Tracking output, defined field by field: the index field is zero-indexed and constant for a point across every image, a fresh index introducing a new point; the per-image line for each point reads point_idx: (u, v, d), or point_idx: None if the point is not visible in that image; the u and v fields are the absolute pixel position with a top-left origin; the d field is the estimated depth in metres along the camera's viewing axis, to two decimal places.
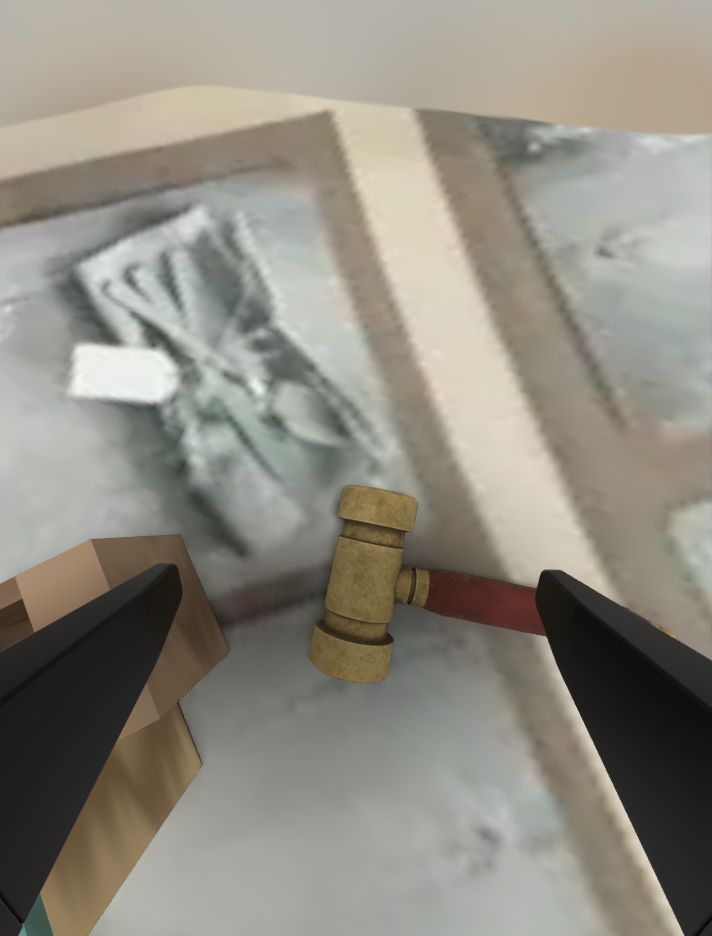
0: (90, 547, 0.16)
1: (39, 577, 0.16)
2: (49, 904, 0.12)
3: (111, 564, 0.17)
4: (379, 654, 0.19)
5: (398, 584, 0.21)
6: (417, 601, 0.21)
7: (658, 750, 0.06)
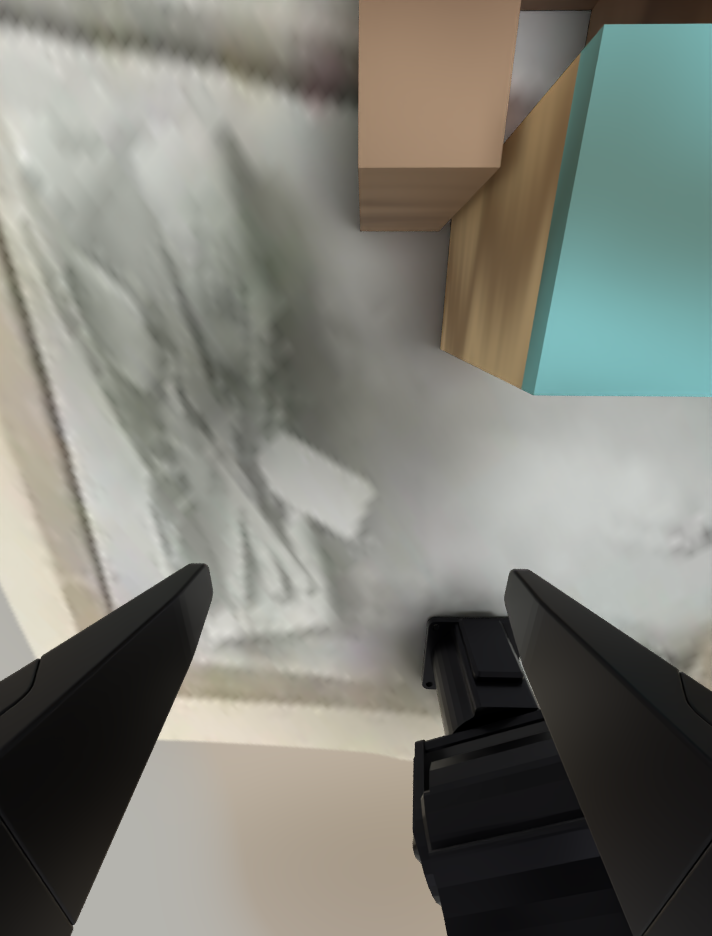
0: None
1: None
2: None
3: None
4: None
5: None
6: None
7: (609, 749, 0.06)
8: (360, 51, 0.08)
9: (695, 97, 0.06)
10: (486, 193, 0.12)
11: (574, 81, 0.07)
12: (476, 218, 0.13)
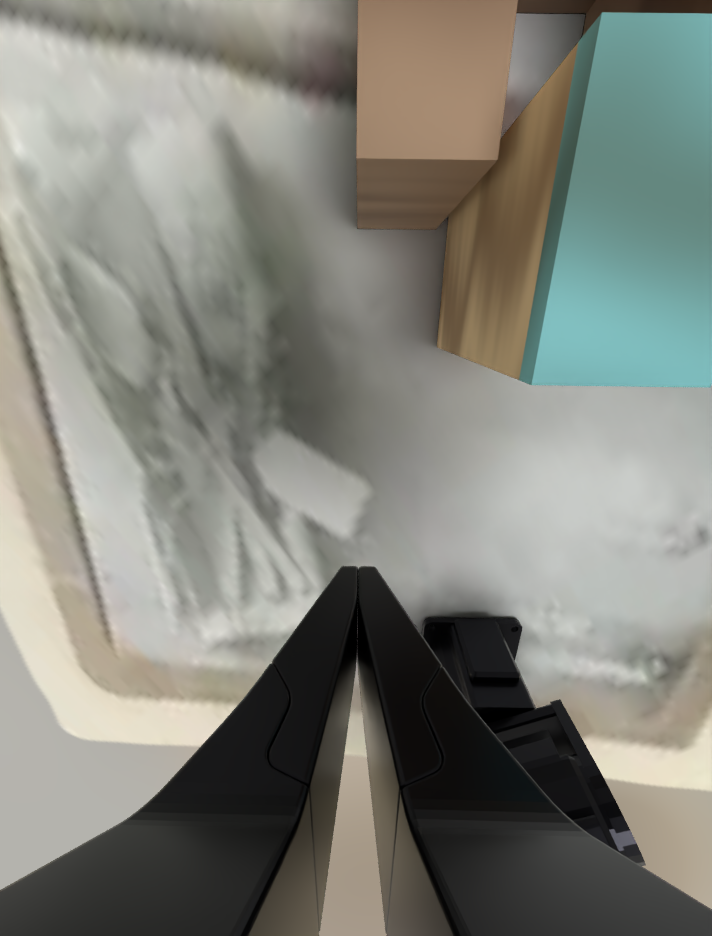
0: None
1: None
2: None
3: None
4: None
5: None
6: None
7: (374, 744, 0.06)
8: (359, 42, 0.08)
9: (691, 87, 0.06)
10: (483, 189, 0.12)
11: (572, 71, 0.07)
12: (473, 214, 0.13)
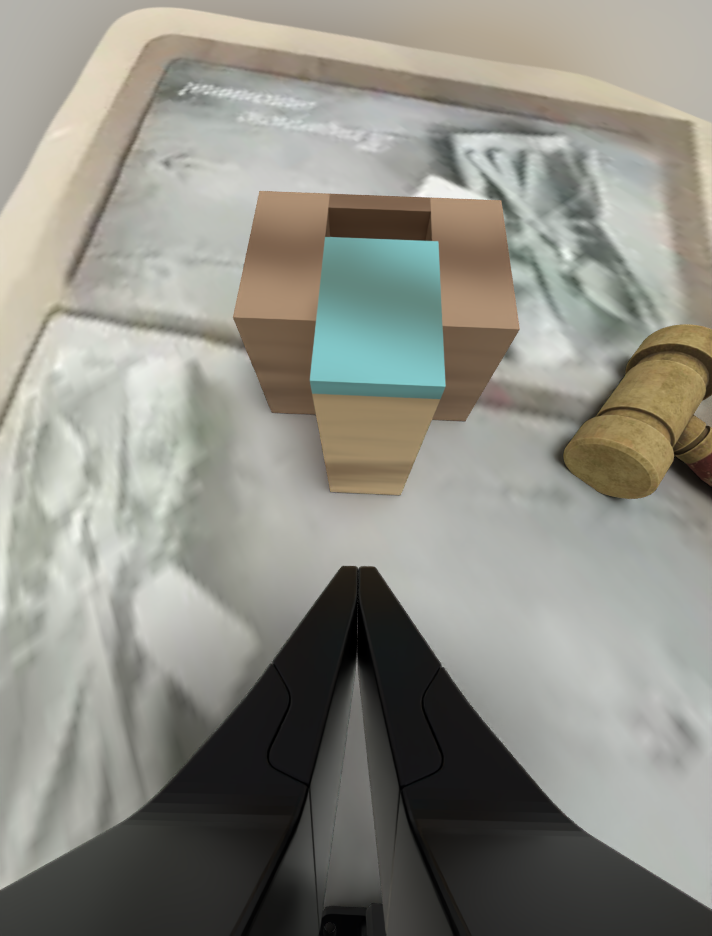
0: (498, 205, 0.18)
1: (449, 205, 0.18)
2: None
3: None
4: (669, 455, 0.18)
5: (693, 420, 0.20)
6: (704, 446, 0.20)
7: (374, 744, 0.06)
8: (242, 280, 0.16)
9: (374, 257, 0.13)
10: None
11: None
12: None
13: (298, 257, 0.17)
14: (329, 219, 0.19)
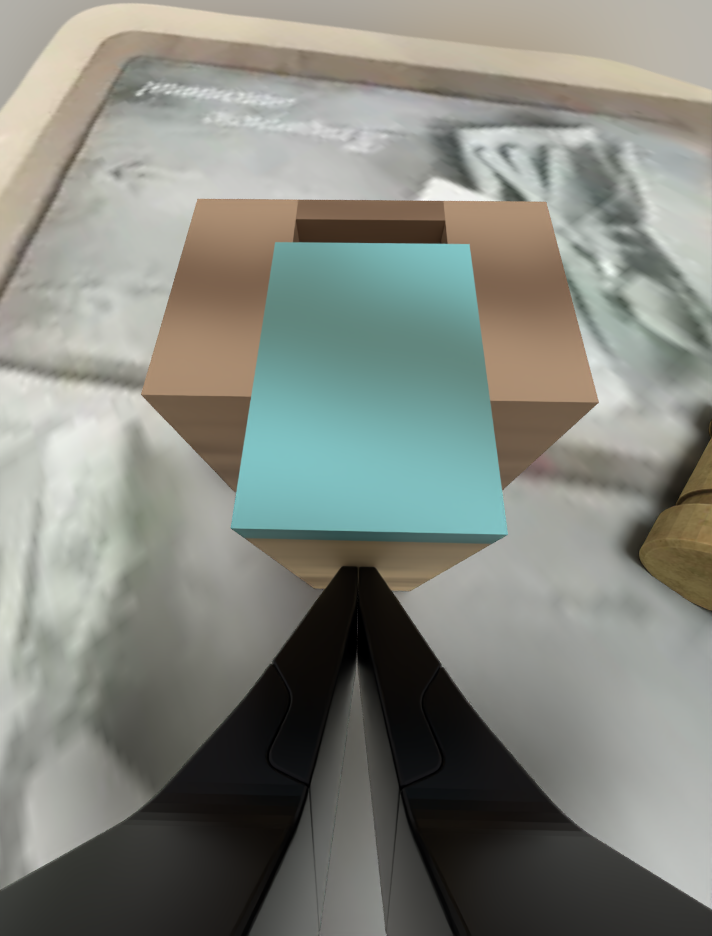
0: (543, 208, 0.13)
1: (472, 211, 0.13)
2: None
3: None
4: None
5: None
6: None
7: (374, 744, 0.06)
8: (161, 332, 0.11)
9: (360, 275, 0.07)
10: None
11: None
12: None
13: (249, 294, 0.11)
14: (298, 236, 0.13)
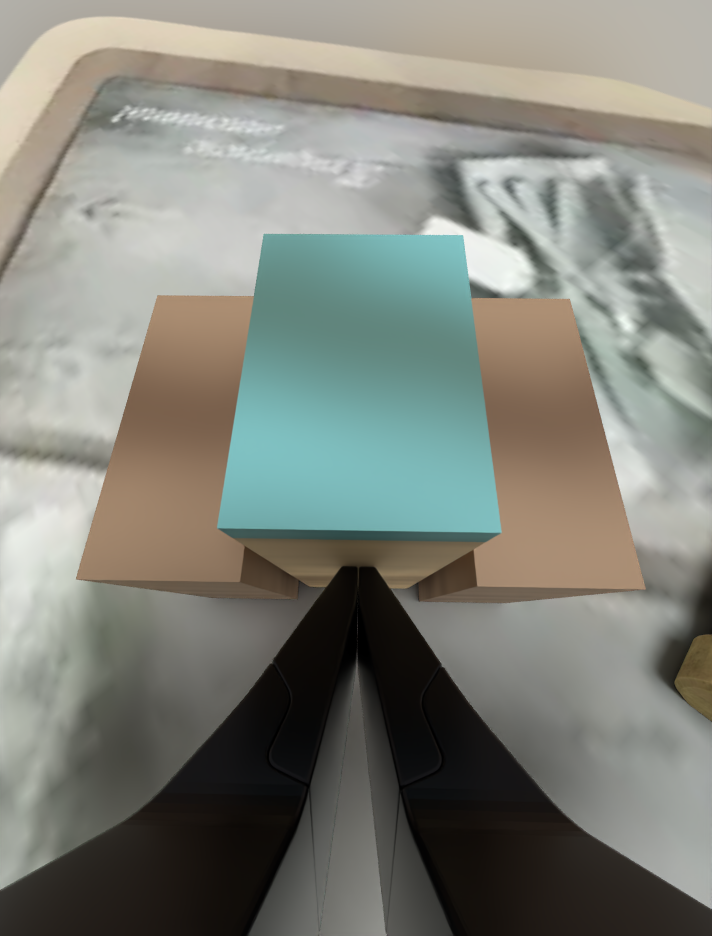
0: (566, 308, 0.11)
1: (482, 312, 0.11)
2: None
3: None
4: None
5: None
6: None
7: (374, 744, 0.06)
8: (106, 484, 0.09)
9: (350, 267, 0.07)
10: None
11: None
12: None
13: (215, 430, 0.09)
14: None
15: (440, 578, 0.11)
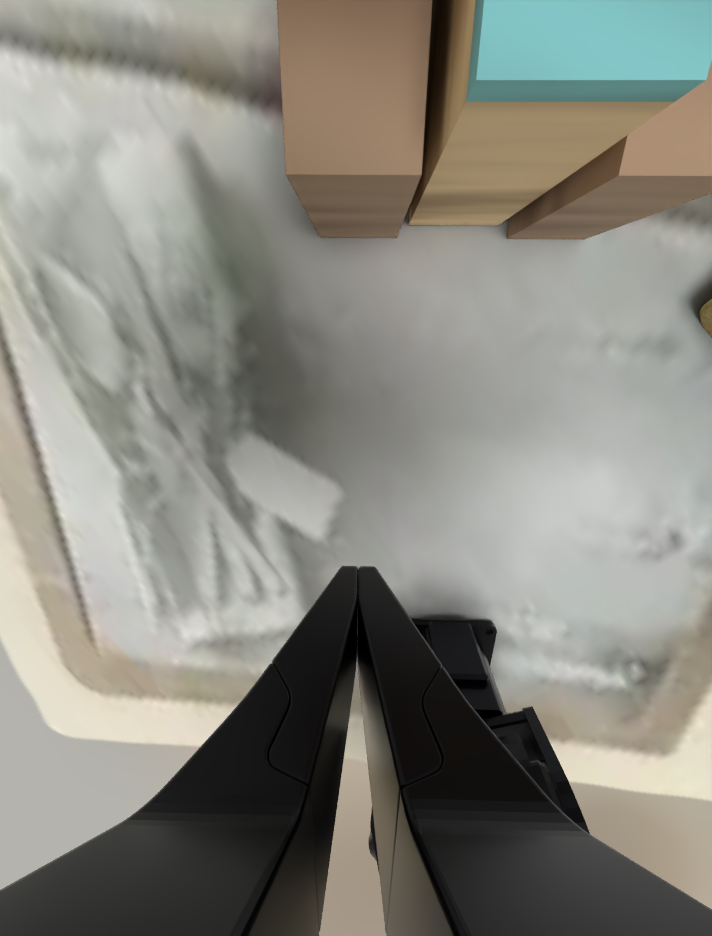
0: None
1: None
2: None
3: None
4: None
5: None
6: None
7: (374, 744, 0.06)
8: (282, 65, 0.09)
9: None
10: None
11: None
12: (433, 9, 0.11)
13: None
14: None
15: (555, 195, 0.13)
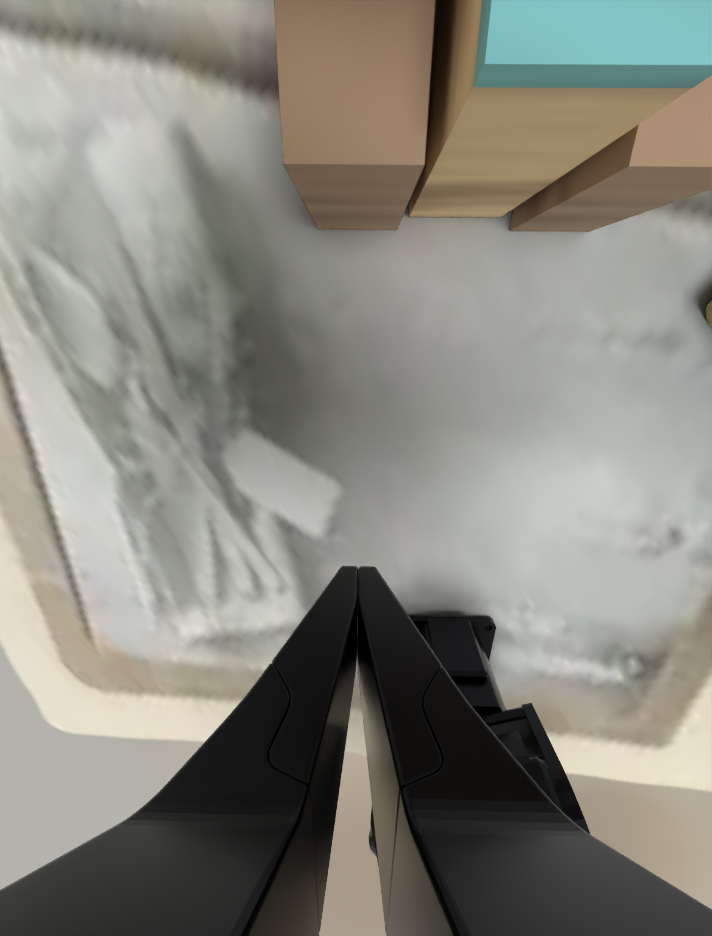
0: None
1: None
2: None
3: None
4: None
5: None
6: None
7: (374, 744, 0.06)
8: (278, 47, 0.08)
9: None
10: None
11: None
12: None
13: None
14: None
15: (561, 186, 0.12)
